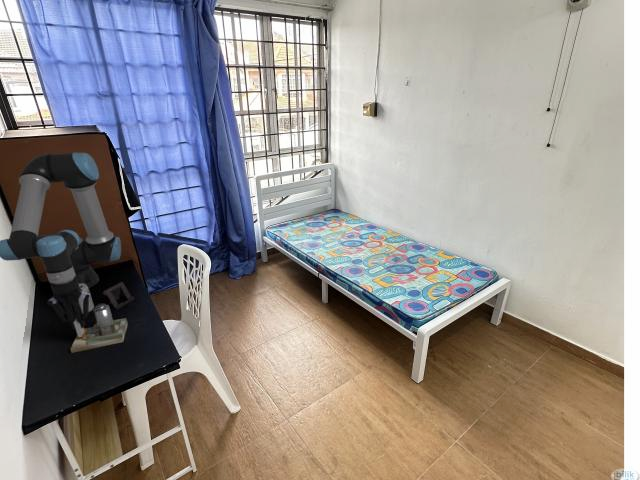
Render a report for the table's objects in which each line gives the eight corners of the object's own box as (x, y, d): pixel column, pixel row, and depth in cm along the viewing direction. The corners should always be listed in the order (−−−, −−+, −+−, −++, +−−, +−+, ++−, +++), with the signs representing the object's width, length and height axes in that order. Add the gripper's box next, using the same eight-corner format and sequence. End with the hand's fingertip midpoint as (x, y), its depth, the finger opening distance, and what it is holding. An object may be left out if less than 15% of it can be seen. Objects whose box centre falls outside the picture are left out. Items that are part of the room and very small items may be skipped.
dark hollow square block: (117, 310, 143) (112, 294, 140) (105, 306, 146) (100, 290, 143) (135, 300, 151) (130, 284, 148) (122, 296, 154) (118, 280, 150)
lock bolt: (86, 334, 126) (84, 328, 125) (101, 331, 128) (99, 326, 127) (83, 339, 123) (82, 334, 122) (99, 336, 125) (97, 331, 124)
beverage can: (86, 315, 140) (77, 291, 135) (73, 313, 141) (64, 289, 137) (98, 307, 146) (90, 283, 141) (85, 305, 147) (78, 282, 142)
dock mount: (80, 332, 129) (78, 325, 128) (127, 323, 135) (125, 316, 133) (71, 352, 119) (68, 345, 118) (123, 341, 124) (120, 334, 123)
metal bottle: (102, 330, 129) (94, 303, 124) (117, 327, 130) (109, 300, 126) (99, 337, 124) (90, 310, 120) (114, 334, 126) (106, 307, 121)
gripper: (36, 288, 110) (58, 345, 119) (82, 281, 114) (99, 336, 123) (44, 277, 116) (64, 332, 125) (87, 271, 120) (103, 325, 129)
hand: (81, 334), depth 124 cm, fingers closed
